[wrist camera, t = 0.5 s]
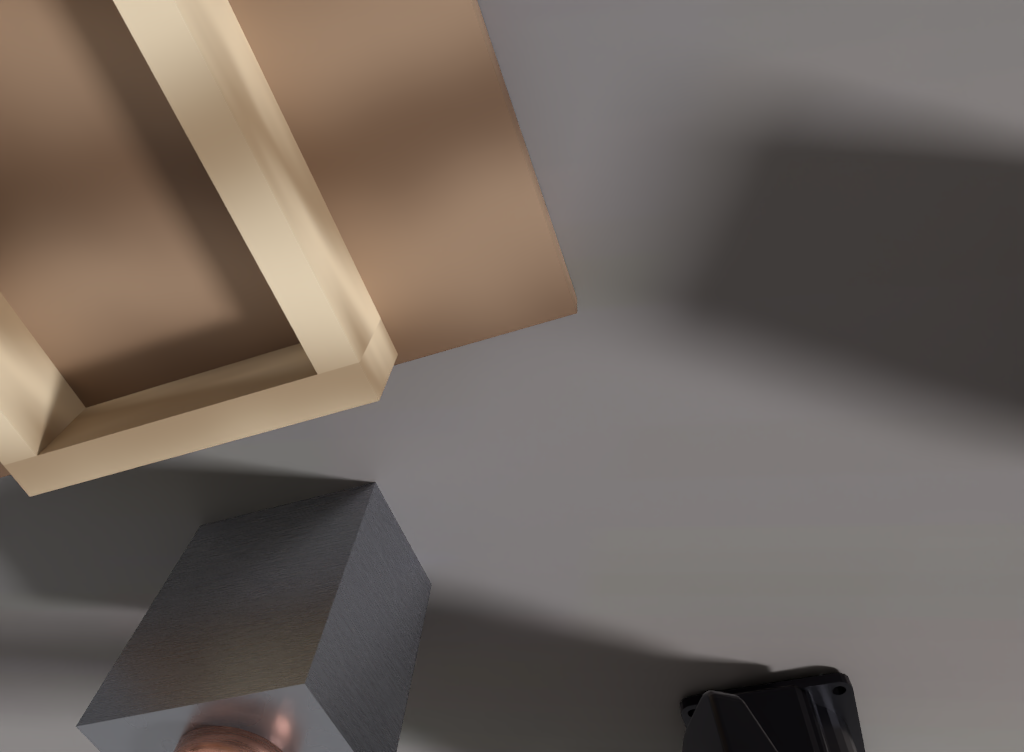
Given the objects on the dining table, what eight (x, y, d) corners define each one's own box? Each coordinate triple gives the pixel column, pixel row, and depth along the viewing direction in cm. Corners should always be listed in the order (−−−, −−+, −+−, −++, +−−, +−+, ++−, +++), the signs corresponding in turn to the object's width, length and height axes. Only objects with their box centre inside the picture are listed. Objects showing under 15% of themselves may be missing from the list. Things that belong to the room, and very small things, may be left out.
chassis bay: (576, 297, 22) (578, 357, 18) (-24, 472, 26) (-100, 541, 23) (373, -310, 15) (323, -371, 12) (-372, 69, 20) (-539, 93, 17)
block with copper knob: (431, 583, 28) (379, 834, 20) (267, 618, 29) (160, 863, 22) (375, 481, 26) (291, 720, 18) (200, 525, 27) (53, 761, 19)
